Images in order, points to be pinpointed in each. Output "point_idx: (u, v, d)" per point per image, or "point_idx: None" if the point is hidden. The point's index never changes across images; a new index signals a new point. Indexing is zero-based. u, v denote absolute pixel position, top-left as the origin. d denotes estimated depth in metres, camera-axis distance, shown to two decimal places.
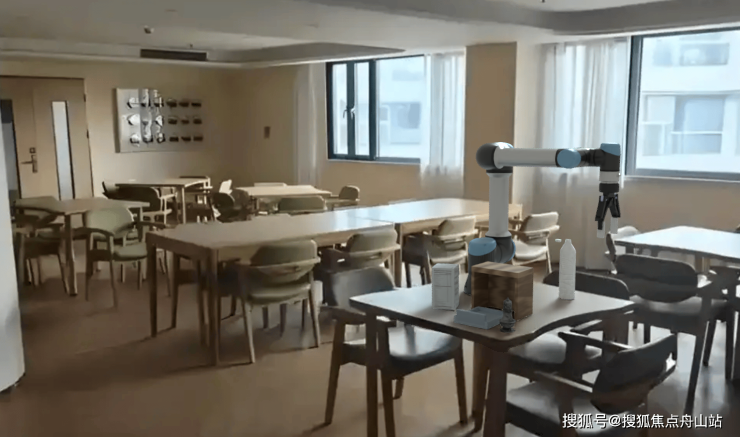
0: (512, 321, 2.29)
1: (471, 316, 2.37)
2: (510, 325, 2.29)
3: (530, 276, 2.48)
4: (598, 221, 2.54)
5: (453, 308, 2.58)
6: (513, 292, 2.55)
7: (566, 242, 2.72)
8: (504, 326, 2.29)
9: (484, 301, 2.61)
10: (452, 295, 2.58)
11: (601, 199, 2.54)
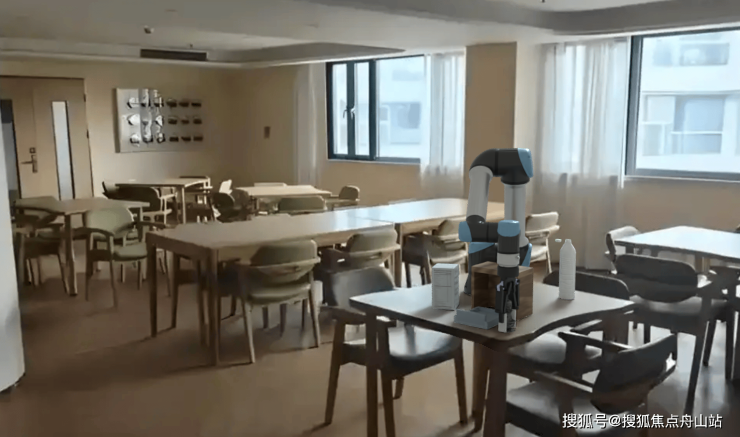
0: (512, 321, 2.29)
1: (471, 316, 2.37)
2: (510, 325, 2.29)
3: (530, 276, 2.48)
4: (499, 313, 2.27)
5: (453, 308, 2.58)
6: None
7: (566, 242, 2.72)
8: None
9: (484, 301, 2.61)
10: (452, 295, 2.58)
11: (498, 289, 2.25)
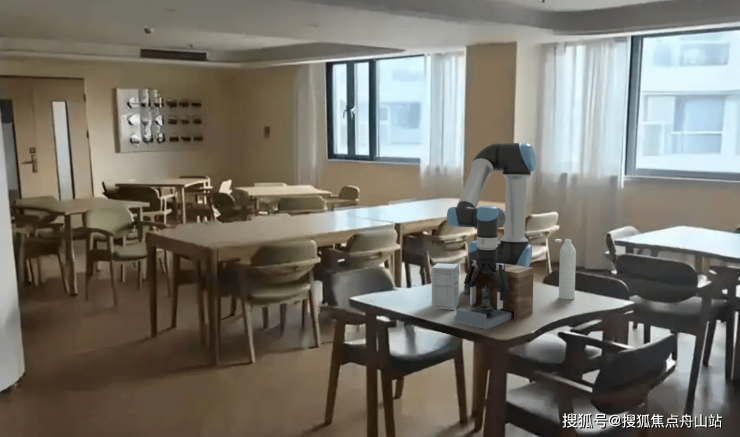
0: (481, 307, 2.44)
1: (471, 316, 2.37)
2: (479, 310, 2.44)
3: (530, 276, 2.48)
4: None
5: (453, 308, 2.58)
6: (513, 292, 2.55)
7: (566, 242, 2.72)
8: None
9: None
10: (452, 295, 2.58)
11: None
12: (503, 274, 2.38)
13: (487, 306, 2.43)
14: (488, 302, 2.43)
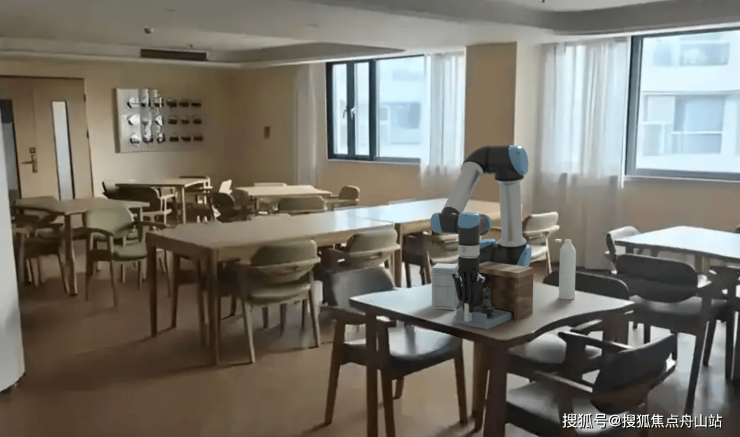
0: (481, 307, 2.44)
1: None
2: (480, 310, 2.45)
3: (530, 276, 2.48)
4: None
5: (453, 308, 2.58)
6: (513, 292, 2.55)
7: (566, 242, 2.72)
8: None
9: None
10: (452, 295, 2.58)
11: None
12: (479, 287, 2.31)
13: (488, 306, 2.43)
14: (489, 302, 2.44)
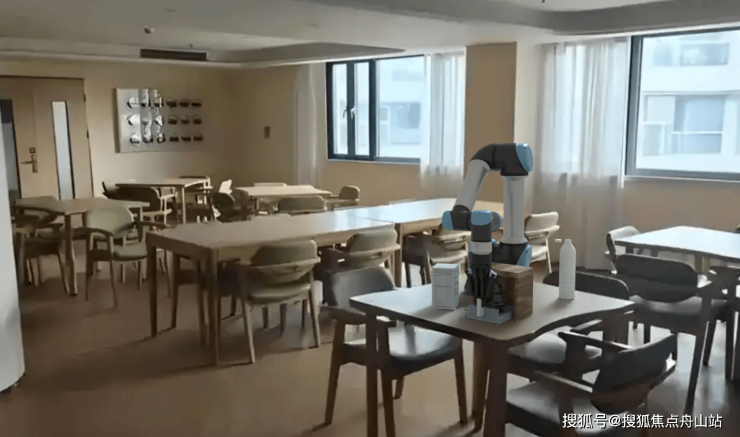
0: (493, 303, 2.50)
1: (484, 311, 2.43)
2: (491, 305, 2.51)
3: (530, 276, 2.48)
4: None
5: (453, 308, 2.58)
6: (513, 292, 2.55)
7: (566, 242, 2.72)
8: None
9: None
10: (452, 295, 2.58)
11: None
12: (491, 283, 2.37)
13: (499, 302, 2.50)
14: (500, 298, 2.50)
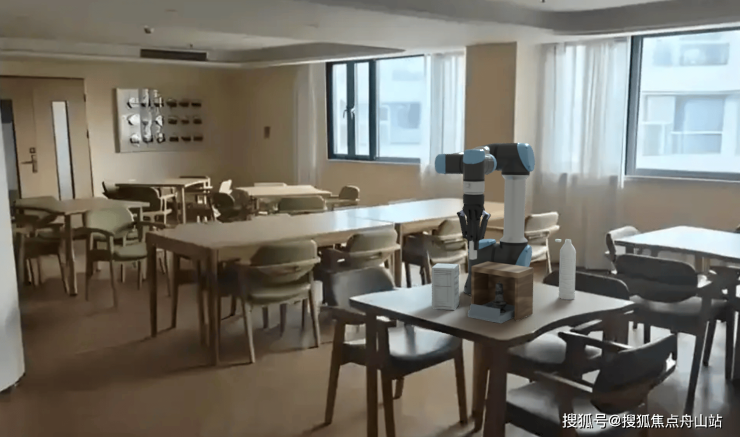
0: (494, 302, 2.51)
1: (485, 310, 2.44)
2: (493, 305, 2.52)
3: (530, 276, 2.48)
4: None
5: (453, 308, 2.58)
6: (513, 292, 2.55)
7: (566, 242, 2.72)
8: None
9: (484, 301, 2.61)
10: (452, 295, 2.58)
11: None
12: (484, 224, 2.30)
13: (500, 301, 2.50)
14: (501, 297, 2.51)
